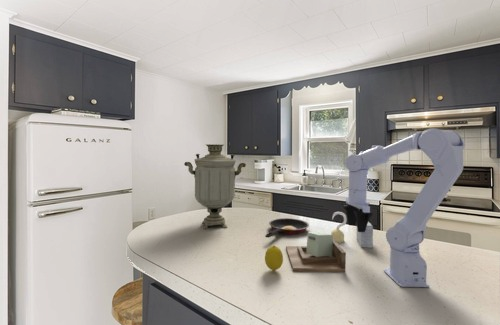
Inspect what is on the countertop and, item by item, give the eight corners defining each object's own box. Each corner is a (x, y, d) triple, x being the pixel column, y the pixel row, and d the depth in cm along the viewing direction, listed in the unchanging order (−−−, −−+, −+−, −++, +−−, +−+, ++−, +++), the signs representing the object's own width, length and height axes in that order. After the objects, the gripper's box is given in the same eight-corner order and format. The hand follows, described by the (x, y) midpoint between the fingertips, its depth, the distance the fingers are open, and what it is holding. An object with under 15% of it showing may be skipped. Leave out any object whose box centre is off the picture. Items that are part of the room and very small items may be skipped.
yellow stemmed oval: (329, 240, 106) (330, 212, 105) (332, 237, 110) (332, 209, 110) (344, 243, 103) (345, 214, 102) (347, 239, 107) (347, 211, 107)
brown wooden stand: (345, 271, 79) (345, 252, 78) (293, 271, 79) (293, 252, 79) (328, 249, 97) (328, 233, 96) (286, 248, 97) (286, 233, 97)
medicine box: (372, 248, 98) (373, 226, 98) (360, 247, 99) (361, 225, 99) (367, 241, 106) (368, 220, 105) (356, 240, 107) (356, 219, 106)
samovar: (249, 218, 140) (250, 145, 138) (241, 233, 114) (241, 143, 112) (197, 215, 145) (197, 144, 143) (178, 230, 119) (177, 143, 117)
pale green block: (331, 255, 87) (333, 234, 88) (315, 257, 83) (316, 235, 84) (321, 252, 91) (322, 232, 92) (305, 253, 88) (306, 232, 88)
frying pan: (314, 228, 124) (314, 220, 123) (288, 249, 96) (288, 240, 96) (278, 222, 133) (278, 215, 133) (246, 240, 106) (246, 231, 106)
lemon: (271, 265, 83) (271, 241, 83) (286, 270, 79) (286, 245, 79) (261, 271, 79) (261, 245, 78) (276, 277, 75) (276, 250, 75)
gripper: (379, 192, 81) (378, 235, 82) (359, 186, 96) (358, 222, 96) (357, 192, 81) (356, 235, 82) (340, 186, 95) (340, 222, 96)
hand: (356, 228), depth 89 cm, fingers open, 7 cm apart
